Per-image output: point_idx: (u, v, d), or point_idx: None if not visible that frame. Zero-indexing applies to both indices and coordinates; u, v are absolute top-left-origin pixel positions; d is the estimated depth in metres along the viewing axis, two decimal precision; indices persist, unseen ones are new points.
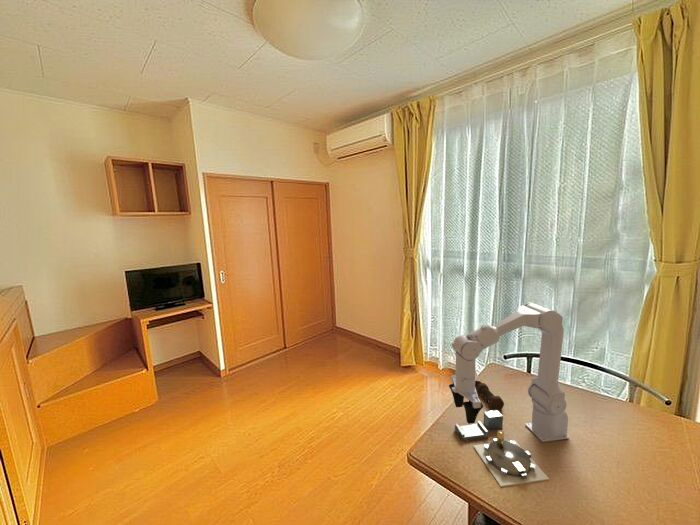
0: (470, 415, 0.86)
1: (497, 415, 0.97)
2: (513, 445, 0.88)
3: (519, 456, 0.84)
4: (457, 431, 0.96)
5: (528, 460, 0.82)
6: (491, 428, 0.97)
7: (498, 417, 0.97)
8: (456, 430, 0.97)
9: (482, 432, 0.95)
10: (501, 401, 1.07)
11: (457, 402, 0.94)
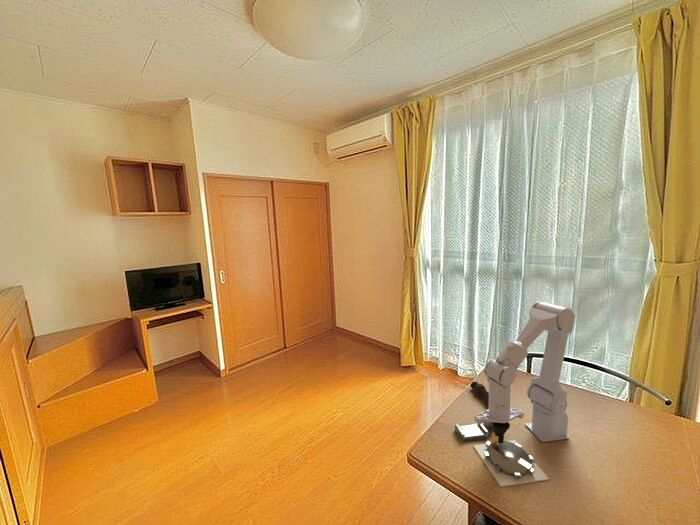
0: (497, 431, 0.88)
1: None
2: (504, 442, 0.89)
3: (516, 452, 0.85)
4: (457, 431, 0.96)
5: (525, 453, 0.84)
6: (491, 428, 0.97)
7: None
8: (456, 430, 0.97)
9: (482, 432, 0.95)
10: None
11: None
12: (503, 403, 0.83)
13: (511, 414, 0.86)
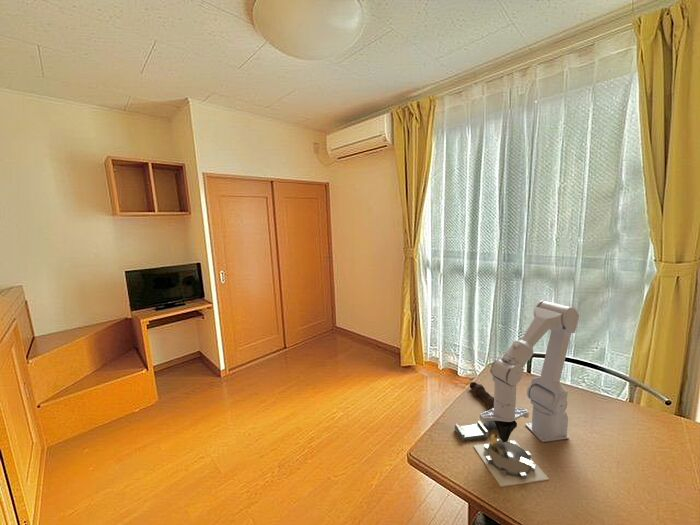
0: (500, 430, 0.88)
1: None
2: (500, 442, 0.89)
3: (514, 450, 0.86)
4: (457, 431, 0.96)
5: (522, 450, 0.86)
6: (491, 428, 0.97)
7: None
8: (456, 430, 0.97)
9: (482, 432, 0.95)
10: None
11: (502, 433, 0.89)
12: (509, 402, 0.83)
13: (516, 413, 0.87)
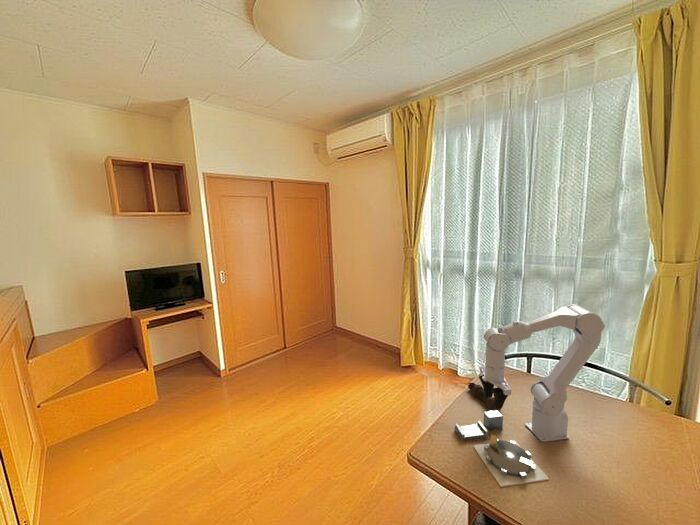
0: (498, 400, 0.94)
1: (497, 415, 0.97)
2: (500, 442, 0.89)
3: (514, 450, 0.86)
4: (457, 431, 0.96)
5: (522, 450, 0.86)
6: (491, 428, 0.97)
7: (498, 417, 0.97)
8: (456, 430, 0.97)
9: (482, 432, 0.95)
10: None
11: (487, 392, 1.00)
12: (493, 365, 0.93)
13: None
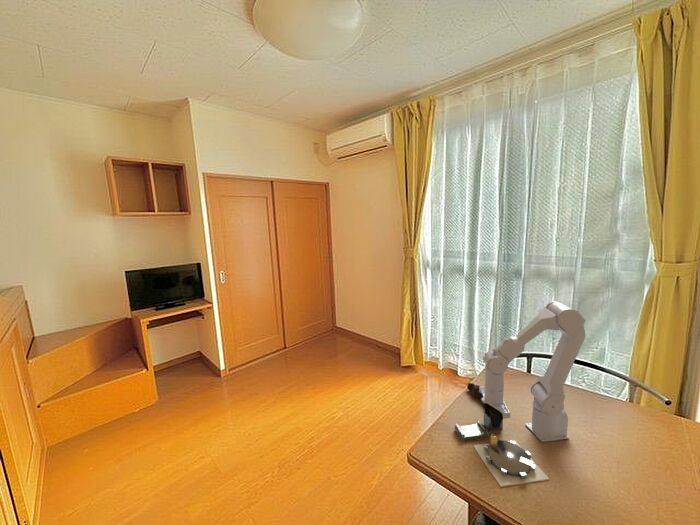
0: (496, 420, 0.96)
1: None
2: (500, 442, 0.89)
3: (514, 450, 0.86)
4: (457, 431, 0.96)
5: (522, 450, 0.86)
6: (491, 428, 0.97)
7: None
8: (456, 430, 0.97)
9: (482, 432, 0.95)
10: None
11: None
12: (492, 388, 0.94)
13: None
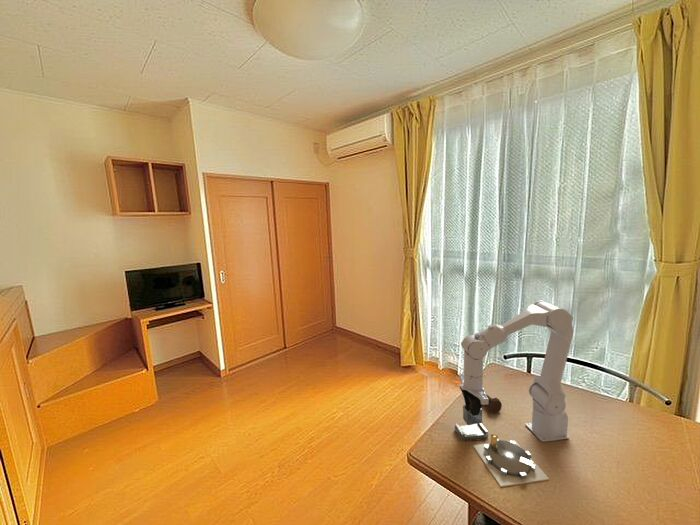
0: (474, 407, 0.92)
1: None
2: (500, 442, 0.89)
3: (514, 450, 0.86)
4: (457, 431, 0.96)
5: (522, 450, 0.86)
6: (470, 422, 0.94)
7: None
8: (456, 430, 0.97)
9: (482, 432, 0.95)
10: (499, 403, 1.06)
11: (468, 403, 0.96)
12: (472, 374, 0.90)
13: None
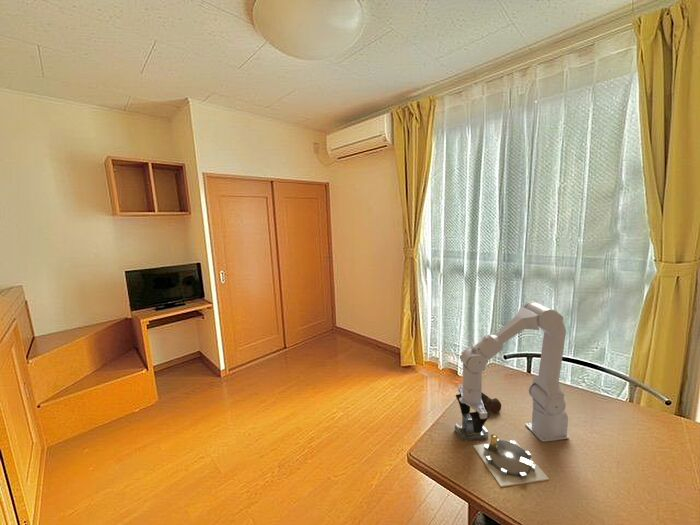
0: (477, 425, 0.91)
1: None
2: (500, 442, 0.89)
3: (514, 450, 0.86)
4: (457, 431, 0.96)
5: (522, 450, 0.86)
6: (469, 431, 0.94)
7: None
8: (456, 430, 0.97)
9: (482, 432, 0.95)
10: (499, 403, 1.05)
11: (464, 412, 0.99)
12: (471, 388, 0.91)
13: None
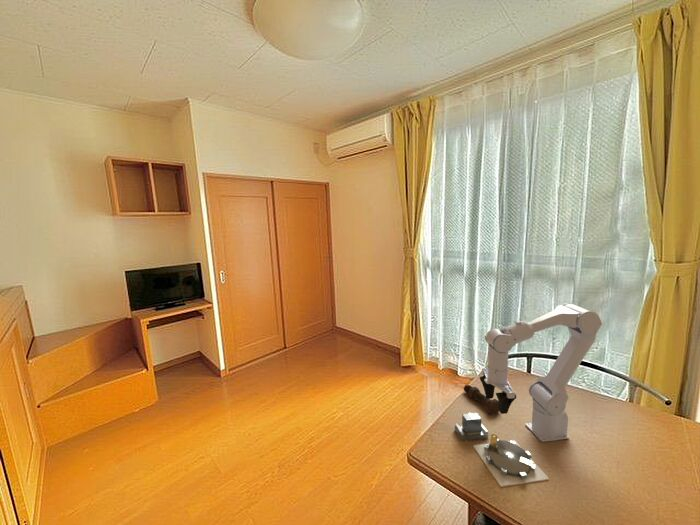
0: (503, 405, 0.90)
1: (476, 418, 0.94)
2: (500, 442, 0.89)
3: (514, 450, 0.86)
4: (457, 431, 0.96)
5: (522, 450, 0.86)
6: (469, 431, 0.94)
7: (476, 419, 0.94)
8: (456, 430, 0.97)
9: (482, 432, 0.95)
10: (498, 404, 1.05)
11: (488, 394, 0.97)
12: (497, 368, 0.90)
13: None
